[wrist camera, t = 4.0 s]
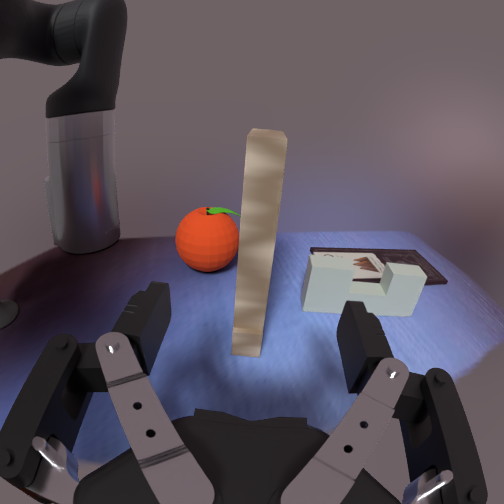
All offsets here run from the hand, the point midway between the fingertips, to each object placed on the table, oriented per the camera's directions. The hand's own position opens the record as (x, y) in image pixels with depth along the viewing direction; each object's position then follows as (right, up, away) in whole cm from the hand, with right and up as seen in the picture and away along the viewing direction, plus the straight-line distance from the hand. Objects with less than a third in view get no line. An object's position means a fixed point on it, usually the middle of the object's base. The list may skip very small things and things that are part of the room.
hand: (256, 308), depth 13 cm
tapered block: (-1, -4, +12) cm, 13 cm away
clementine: (-5, +1, +21) cm, 22 cm away
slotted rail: (+11, -3, +16) cm, 19 cm away
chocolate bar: (+17, 0, +24) cm, 30 cm away
